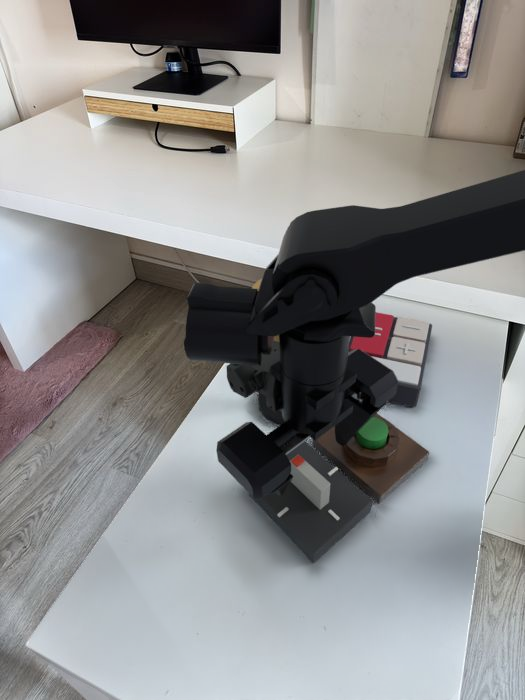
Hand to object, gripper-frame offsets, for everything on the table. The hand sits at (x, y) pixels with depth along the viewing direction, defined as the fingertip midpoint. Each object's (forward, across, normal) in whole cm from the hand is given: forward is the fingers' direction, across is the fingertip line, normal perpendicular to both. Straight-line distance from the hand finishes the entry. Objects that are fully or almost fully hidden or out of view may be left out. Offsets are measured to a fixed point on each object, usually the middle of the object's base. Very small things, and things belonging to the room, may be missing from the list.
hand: (310, 466), depth 54 cm
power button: (+4, -10, 0) cm, 11 cm away
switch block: (+7, -10, 0) cm, 13 cm away
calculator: (+8, -24, -9) cm, 27 cm away
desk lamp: (+7, -8, -13) cm, 17 cm away
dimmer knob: (+5, 0, 0) cm, 5 cm away
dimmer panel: (+7, 0, 0) cm, 7 cm away
